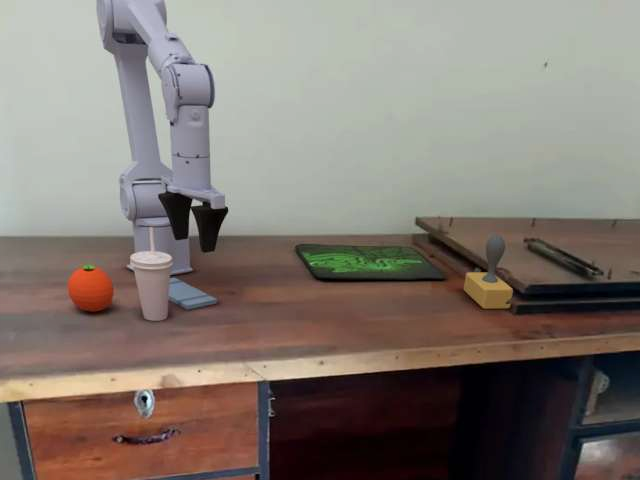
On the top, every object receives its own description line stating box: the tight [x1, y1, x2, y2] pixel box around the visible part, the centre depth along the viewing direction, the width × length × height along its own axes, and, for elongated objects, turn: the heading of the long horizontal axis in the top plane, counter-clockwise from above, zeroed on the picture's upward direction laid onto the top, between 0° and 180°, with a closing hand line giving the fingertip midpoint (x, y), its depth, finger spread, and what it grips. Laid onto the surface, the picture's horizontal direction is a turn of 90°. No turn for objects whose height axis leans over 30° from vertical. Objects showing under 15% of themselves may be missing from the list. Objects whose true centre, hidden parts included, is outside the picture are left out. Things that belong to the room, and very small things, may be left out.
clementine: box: [67, 264, 115, 313], centre depth 124 cm, size 8×7×7 cm
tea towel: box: [168, 277, 218, 311], centre depth 134 cm, size 6×13×1 cm, turn 45°
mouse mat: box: [294, 243, 447, 281], centre depth 159 cm, size 27×22×1 cm
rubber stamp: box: [463, 234, 514, 310], centre depth 144 cm, size 10×6×12 cm, turn 16°
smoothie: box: [129, 227, 173, 322], centre depth 121 cm, size 6×6×14 cm
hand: (194, 245), depth 125 cm, fingers open, 7 cm apart
